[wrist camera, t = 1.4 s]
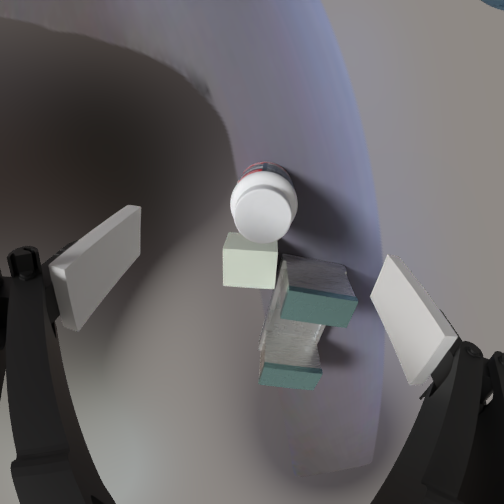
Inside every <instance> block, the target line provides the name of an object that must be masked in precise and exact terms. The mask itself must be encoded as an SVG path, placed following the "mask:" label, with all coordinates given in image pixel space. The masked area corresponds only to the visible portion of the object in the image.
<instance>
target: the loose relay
mask: <svg viewBox="0 0 504 504" xmlns="http://www.w3.org/2000/svg"><path fill="white" fill-rule="evenodd" d="M277 257H278V243H277V241H275V242H272V243H266V244H261V243H255V242H252V241H250V240H248V239H246V238H245V237H244V236H243V235H242V234H241V233H232V232H229V233H228V236H227V239H226V242H225V244H224V247H223V285H224V286H235V287H248V288H263V289H275V279H276V268H277Z"/></svg>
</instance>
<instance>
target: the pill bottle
mask: <svg viewBox="0 0 504 504" xmlns="http://www.w3.org/2000/svg"><path fill="white" fill-rule="evenodd" d="M230 205H231V212H232V215H233V217H234V221H235V225H236V227H237V229H238V230H239V232H240V233H241V234H242V235H243V236H244V237H245V238H246V239H248V240H250V241H252V242H255V243H261V244H266V243H272V242H275V241H277V240H279V239H280V238H282V237H283V236H284V235H285V234H286V232H287V231H288V229H289V227H290V225H291V223H292V221H293V219H294V218H295V215H296V212H297V207H298V201H297V195H296V192H295V189H294V186H293V183H292V180H291V178H290V176H289V174H288V173H287V172H286V171H285V170H284V169H283V168H282V167H281V166H279V165H277V164H275V163H271V162H259V163H255V164H253V165H251V166H250V167H248V168H247V169H246V170H245V171H244V172H243V174H242V175H241V177H240V179H239V181H238V182H237V184H236V186H235V188H234V190H233V193H232V196H231V202H230Z"/></svg>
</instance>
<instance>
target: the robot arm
mask: <svg viewBox="0 0 504 504" xmlns="http://www.w3.org/2000/svg"><path fill="white" fill-rule="evenodd" d="M481 1H483V2H484V3H486V4H488V5H490V6H492V7H494V8H497V9H500V10H504V0H481ZM140 222H141V207H139V206H132V205H127V206H126V207H124V208H123V209H121V210H120V211H118V212H117V213H115V214H114V215H113V216H111V217H110V218H108V219H107V220H106V221H104V222H103V223H101V224H100V225H99V226H97V227H96V228H95V229H93V230H92V231H91V232H89V233H88V234H87V235H85V236H84V237H83V238H82V239H80V240H76V241H74V242H71V243H69V244H67V245H66V246H65V247H63V248H62V249H61V251H60V250H59V251H58V252H57V253H56V254H55V255H53V256H52V257H51V258H49V259H48V260H47V261H46V262H45V263H43V264H42V265H41V263H40V258H39V253H38V249H37V248H35V247H32V246H23V247H20V248H17V249H15V250H13V251H12V252H11V253H9V255H8V256H7V260H8V265H9V268H10V273H11V277H3V276H2V274H1V270H0V398H1V393H2V386H3V381H4V375H5V371H6V377H7V392H8V403H9V412H10V419H11V425H12V432H13V437H14V443H15V447H16V453H17V458H16V460H14V461H13V462H12V463H11V474H12V478H13V482H14V486H15V489H16V492H17V496H18V499H19V502H20V504H116V503H115V501H114V500H113V498H112V497H111V495H110V493H109V492H108V491H107V489H106V488H105V486H104V484H103V483H102V481H101V479H100V476H99V474H98V472H97V470H96V468H95V465H94V463H93V460H92V458H91V455H90V453H89V450H88V448H87V445H86V443H85V440H84V437H83V434H82V432H81V428H80V426H79V423H78V419H77V417H76V413H75V410H74V406H73V403H72V399H71V396H70V392H69V388H68V384H67V380H66V375H65V371H64V367H63V362H62V357H61V351H60V346H59V340H58V334H57V327H56V324H55V320H56V319H57V317H58V316H59V315H60V317H61V321H62V324H63V327H66V328H69V329H71V330H74V331H76V332H79V330H80V329H81V328H82V326H83V325H84V323H85V322H86V321H87V320H88V318H89V317H90V316H91V314H92V313H93V312H94V310H95V309H96V308H97V306H98V305H99V304H100V303H101V301H102V300H103V299H104V298H105V296H106V295H107V294H108V292H109V291H110V290H111V289H112V288H113V286H114V285H115V284H116V282H117V281H118V280H119V279H120V277H121V276H122V275H123V274H124V273H125V272H126V270H127V269H128V268H129V267H130V265H131V264H132V263H133V262H134V261H135V260H136V259H137V258H138V256H139V255H140ZM370 298H371V300H372V302H373V304H374V306H375V308H376V310H377V312H378V314H379V316H380V319H381V321H382V323H383V325H384V327H385V329H386V332H387V334H388V336H389V338H390V340H391V343H392V345H393V347H394V349H395V352H396V354H397V356H398V359H399V361H400V364H401V366H402V368H403V371H404V373H405V376H406V378H407V380H408V383H409V385H410V386H415V385H423V384H424V383H425V382H426V380H427V379H428V378H429V377H430V375H431V377H432V378H433V383H432V384H431V385H430V386H429V387H428V388H427V390H426V391H425V392H424V393H423V394H422V396H421V397H420V400H421V399H422V398H423V397H425V399H424V401H423V404H422V406H421V409H420V411H419V414H418V416H417V419H416V421H415V423H414V426H413V428H412V430H411V432H410V434H409V437H408V439H407V441H406V443H405V445H404V447H403V449H402V451H401V453H400V455H399V457H398V458H397V460H396V462H395V464H394V466H393V468H392V470H391V471H390V473H389V475H388V477H387V478H386V480H385V482H384V483H383V485H382V486H381V488H380V490H379V491H378V493H377V494H376V496H375V498H374V499H373V501H372V502H371V504H504V353H502V352H499V351H496V352H495V353H494V354H493V355H492V357H491V358H490V359H486V358H483V354H482V352H481V350H480V349H479V348H478V347H477V346H476V345H474V344H473V343H470V342H467V341H464V342H462V340H461V338H460V337H459V335H458V334H457V332H456V331H455V329H454V328H453V327H452V325H450V322H449V321H448V320H447V318H446V316H445V315H444V313H443V312H442V311H441V310H440V309H439V308H438V307H437V305H436V304H435V303H434V301H433V300H432V299H431V297H430V296H429V294H428V293H427V292H426V291H425V289H424V288H423V286H422V285H421V284H420V283H419V281H418V280H417V279H416V277H415V276H414V275H413V274H412V272H411V271H410V270H409V269H408V267H407V266H406V265H405V264H404V262H403V261H402V260H401V259H400V258H399V257H398V256H394V255H389V254H388V255H387V257H386V259H385V262H384V264H383V267H382V269H381V272H380V274H379V277H378V279H377V281H376V284H375V286H374V288H373V291H372V293H371V295H370ZM492 393H493V399H492V400H491V401H490V403H489V404H487V405H486V400H487V399H488V398H489V397H490V396H491V394H492Z"/></svg>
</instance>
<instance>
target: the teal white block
mask: <svg viewBox="0 0 504 504" xmlns="http://www.w3.org/2000/svg"><path fill="white" fill-rule="evenodd" d="M346 274H347V271H346V269H345V267H344V265H341V264H335V263H330V262H325V261H320V260H315V259H310V258H305V257H299V256H294V255H289V254H284V253H283V254H282V258H281V261H280V265H279V269H278V273H277V277H276V280H275V289H273V292H272V295H271V299H270V303H269V306H268V310H267V314H266V317H265V321H264V325H263V328H262V332H261V335H260V339H259V347H258V350H261V352H260V373H259V383H258V384H261V385H269V386H276V387H285V388H295V389H306V390H314V388H315V386H316V385H317V383H318V381H319V379H320V378H321V376H322V369H321V365H320V359H319V353H318V347H317V344H318V341H319V339H320V337H321V335H322V332H323V330H324V328H325V326H326V325H328V326H336V327H344V328H347V325H348V323H349V321H350V319H351V317H352V315H353V313H354V311H355V308H356V306H357V304H358V299H357V297H355V294H354V292H353V290H352V287H351V285H350V283H349V281H348V278H347V276H346Z"/></svg>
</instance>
